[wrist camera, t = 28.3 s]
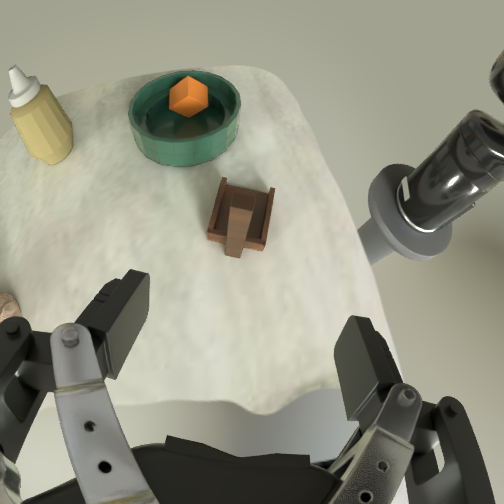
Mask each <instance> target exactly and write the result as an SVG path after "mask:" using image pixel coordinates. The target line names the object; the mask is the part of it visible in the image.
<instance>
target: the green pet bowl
mask: <svg viewBox="0 0 504 504" xmlns="http://www.w3.org/2000/svg"><path fill="white" fill-rule="evenodd" d="M187 76H190V77H191V78H193V79H195V80H197V81H199V82H200V83H202V84H204V85H206V86H207V87H208V107H206V108H205V109H203V110H201V111H200V112H198V113H197V114H195V115H194V116H192V117H190V118H188V117H186V116H183V115H181V114H179V113H177V112H174V111H172V110H170V109H169V99H170V89H171V88H172V87H174V86H175V85H176V84H178V83H179V82H180V81H182V80H183V79H184V78H186V77H187ZM240 109H241V100H240V94H239V92H238V91H237V90H236V88H235V87H234V85H233V84H232V83H230V82H229V81H227V80H226V79H224V78H223V77H221V76H218V75H215V74H212V73H209V72H203V71H194V70H192V71H179V72H174V73H170V74H167V75H163V76H161V77H158V78H156V79H154V80H153V81H151V82H149V83H147V84H146V85H145V86H144V87H142V88H141V89H140V90H139V91H138V92H137V93H136V95H135V96H134V98H133V99H132V101H131V103H130V106H129V111H128V116H129V119H130V123H131V126H132V130H133V133H134V136H135V140H136V143H137V146H138V148H139V149H140V150H141V152H142V153H143V154H144V155H145V156H146V157H147V158H149V159H151V160H153V161H155V162H157V163H159V164H163V165H169V166H175V167H180V166H192V165H197V164H200V163H203V162H206V161H209V160H212V159H214V158H215V157H217V156H218V155H220V154H221V153H223V152H225V151H226V150H227V148H228V147H229V146H230V145H231V143H232V142H233V141H234V139H235V137H236V133H237V130H238V125H239V117H240Z"/></svg>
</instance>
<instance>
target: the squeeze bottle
mask: <svg viewBox="0 0 504 504" xmlns="http://www.w3.org/2000/svg"><path fill="white" fill-rule="evenodd" d="M9 75H10V80H11V84H12V88H13V89H12V90H11V92H10V93H9V96H8V99H9V101H10V102H11V104H12V108H11V112H10V115H11V117H12V119H13V122H14V123H15V126H16V128H17V130H18V132H19V134H20V136H21V138H22V140H23V142H24V143H25V145H26V147H27V149H28V151H29V153H30V155H31V156H32V157H34V158H36V159H38V160H40V161H42V162H44V163H46V164H49V165H51V164H56V163H58V162H60V161H62V160H63V159H64V158H65V157H66V156H67V155H68V154H69V153H70V151H71V149H72V147H73V135H72V122H71V121H70V119H69V118H68V116H67V115H66V113H65V112H64V110H63V109H62V107H61V106H60V104H59V103H58V101H57V99H56V98H55V96H54V95H53V93H52V92H51V90H50V89H49V87H48V86H47V85H40V83H39V81H38V79H37V77H36V76H30V77H26V76H25V74H24V73H23V72H22V71H21V70H20V69H19V68H18V66H17V65H14V66H12V67H11V68H10V69H9Z"/></svg>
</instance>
